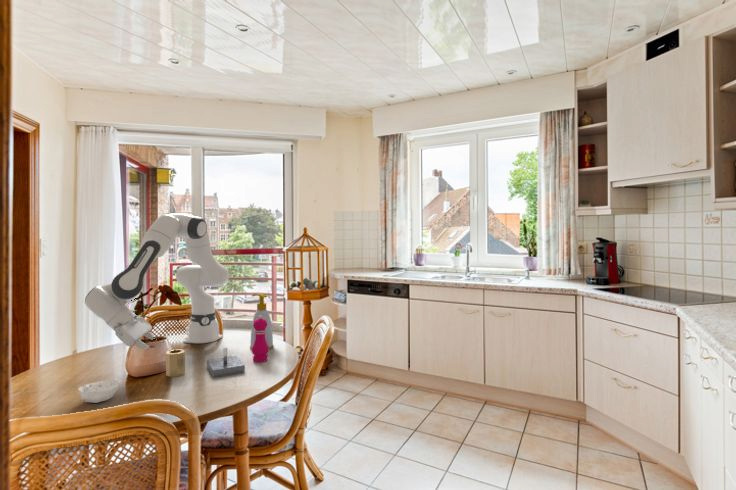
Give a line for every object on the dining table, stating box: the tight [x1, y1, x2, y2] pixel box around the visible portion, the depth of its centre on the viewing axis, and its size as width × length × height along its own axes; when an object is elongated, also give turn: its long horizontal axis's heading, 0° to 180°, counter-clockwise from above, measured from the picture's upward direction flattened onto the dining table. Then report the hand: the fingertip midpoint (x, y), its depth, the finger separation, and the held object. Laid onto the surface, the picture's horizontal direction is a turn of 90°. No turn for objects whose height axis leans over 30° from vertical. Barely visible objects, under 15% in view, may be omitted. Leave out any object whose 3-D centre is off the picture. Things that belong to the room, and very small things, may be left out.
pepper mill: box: [251, 315, 270, 363], centre depth 178 cm, size 7×7×20 cm
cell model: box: [77, 379, 120, 404], centre depth 135 cm, size 10×12×7 cm
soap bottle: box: [249, 293, 274, 350], centre depth 196 cm, size 11×12×26 cm
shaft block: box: [206, 347, 246, 379], centre depth 165 cm, size 14×12×9 cm
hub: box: [165, 348, 186, 378], centre depth 160 cm, size 6×6×9 cm
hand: (150, 344), depth 158 cm, fingers open, 8 cm apart
